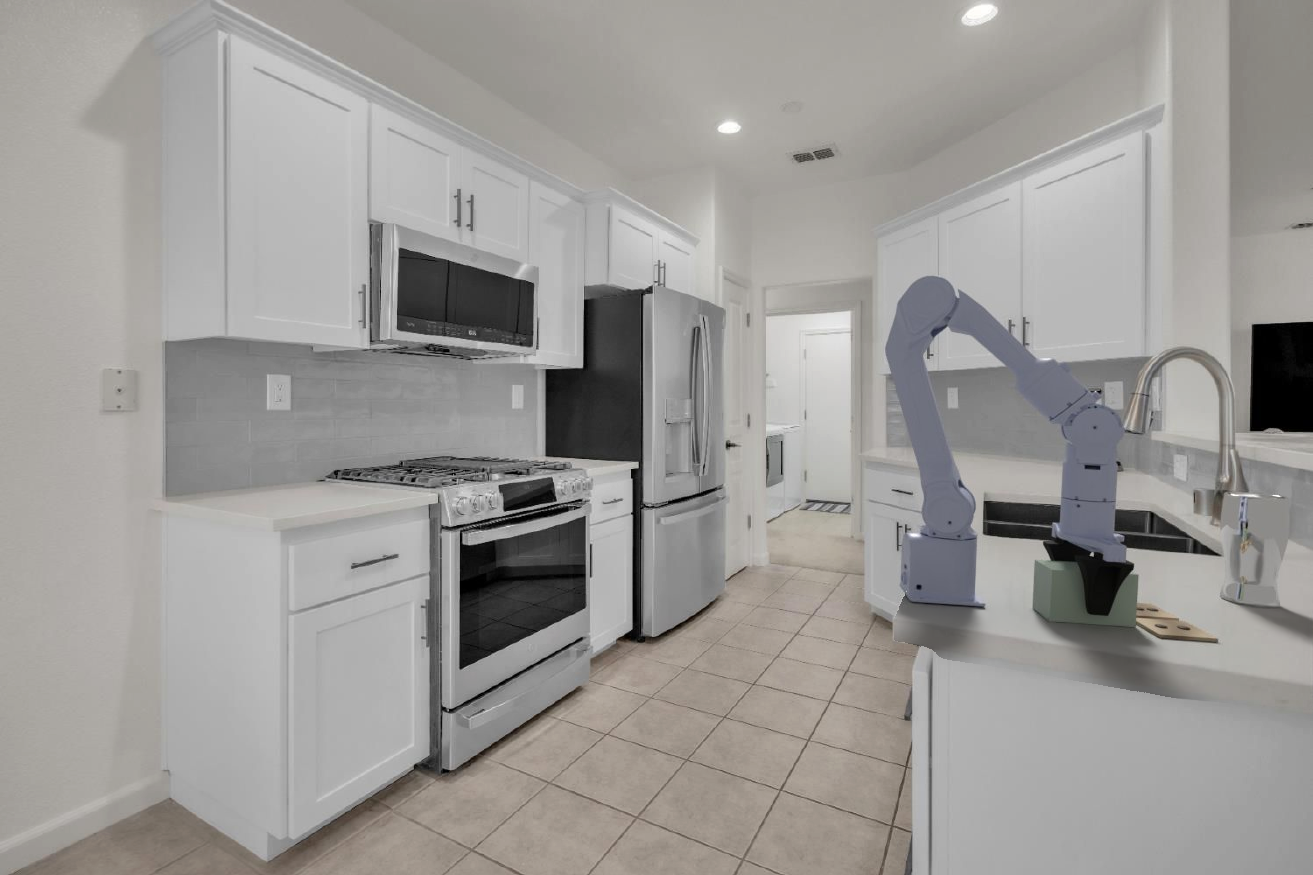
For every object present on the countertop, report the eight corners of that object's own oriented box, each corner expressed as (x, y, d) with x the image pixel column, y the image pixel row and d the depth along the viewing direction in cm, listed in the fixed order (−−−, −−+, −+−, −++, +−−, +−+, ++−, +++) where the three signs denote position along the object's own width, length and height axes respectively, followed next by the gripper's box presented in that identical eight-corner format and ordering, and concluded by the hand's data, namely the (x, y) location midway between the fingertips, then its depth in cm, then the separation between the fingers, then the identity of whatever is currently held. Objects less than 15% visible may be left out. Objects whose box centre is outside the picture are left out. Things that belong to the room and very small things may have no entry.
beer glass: (1298, 611, 83) (1306, 499, 83) (1238, 606, 85) (1244, 497, 84) (1259, 595, 90) (1266, 492, 89) (1204, 592, 91) (1210, 490, 91)
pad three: (1125, 617, 79) (1125, 613, 79) (1101, 603, 85) (1101, 599, 85) (1178, 621, 78) (1179, 617, 78) (1150, 606, 84) (1150, 602, 84)
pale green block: (1049, 621, 78) (1052, 569, 77) (1032, 607, 83) (1034, 559, 83) (1135, 627, 76) (1138, 574, 76) (1112, 613, 81) (1115, 564, 81)
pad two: (1159, 637, 73) (1159, 633, 73) (1130, 620, 78) (1130, 616, 78) (1218, 641, 72) (1218, 637, 71) (1184, 624, 77) (1184, 620, 77)
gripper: (1158, 509, 71) (1152, 626, 72) (1093, 492, 85) (1088, 590, 86) (1089, 506, 72) (1084, 621, 73) (1037, 490, 86) (1032, 586, 87)
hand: (1082, 604), depth 79 cm, fingers open, 7 cm apart
